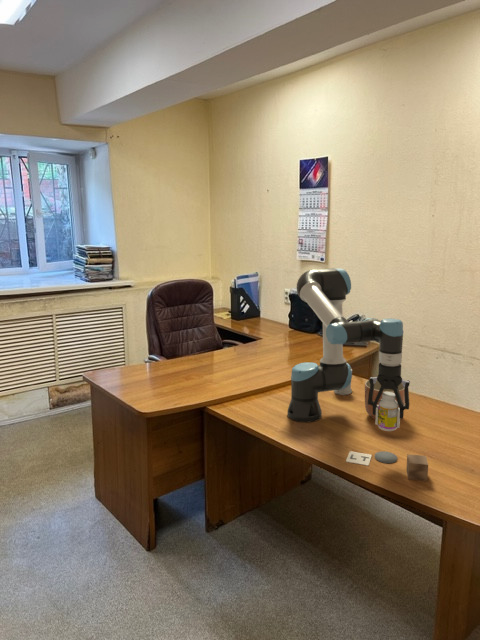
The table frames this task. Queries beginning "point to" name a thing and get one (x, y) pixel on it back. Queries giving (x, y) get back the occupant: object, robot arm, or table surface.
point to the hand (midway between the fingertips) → (387, 424)
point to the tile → (359, 458)
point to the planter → (376, 389)
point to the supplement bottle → (388, 412)
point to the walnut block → (417, 467)
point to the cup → (344, 390)
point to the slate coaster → (385, 457)
